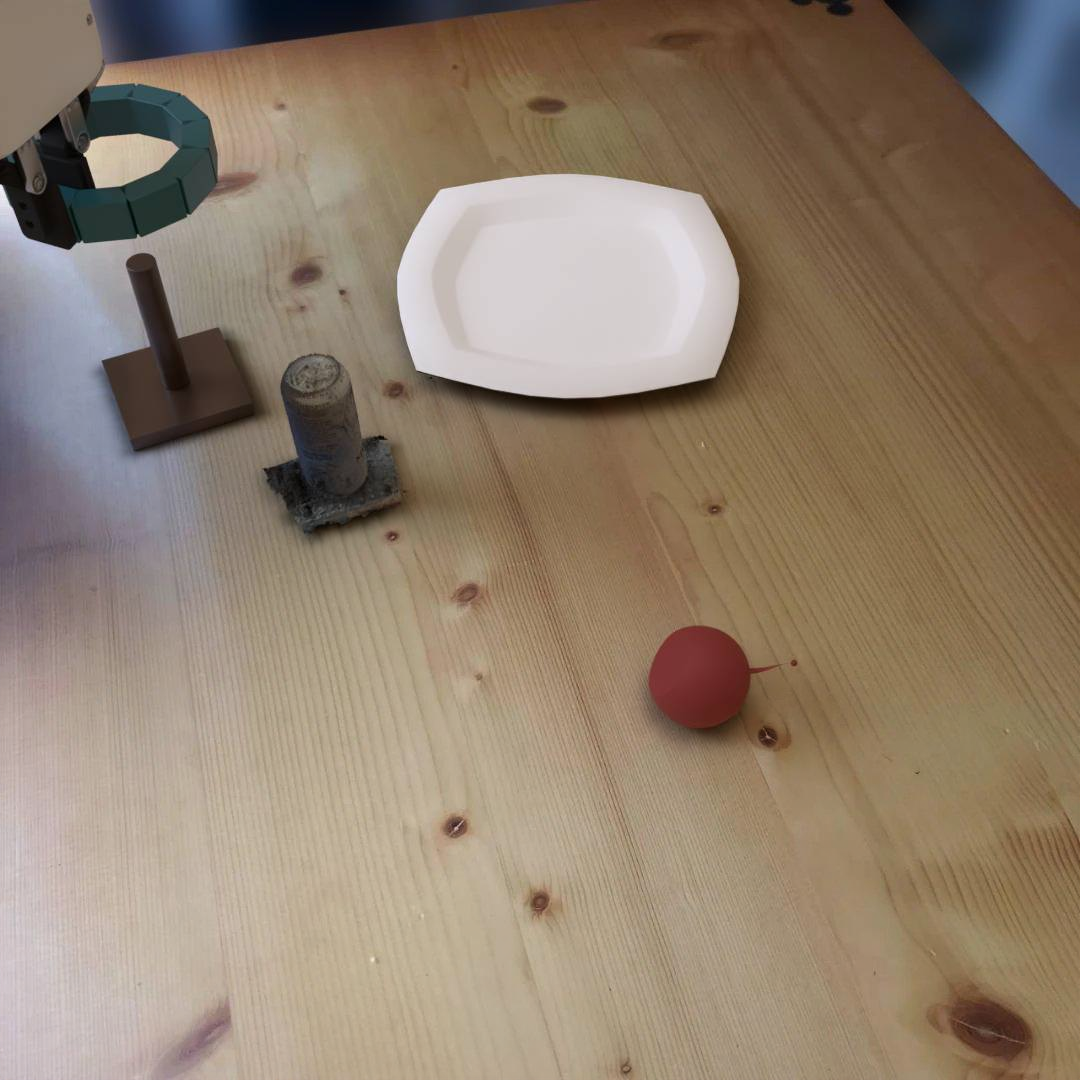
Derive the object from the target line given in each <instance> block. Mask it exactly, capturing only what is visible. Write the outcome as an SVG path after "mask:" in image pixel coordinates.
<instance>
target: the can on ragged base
mask: <svg viewBox="0 0 1080 1080" xmlns="http://www.w3.org/2000/svg"><path fill="white" fill-rule="evenodd" d="M279 389H280V395H281V398H282V402H283V407H284V411H285V414H286V417H287V421H288V425H289V429H290V433H291V435H292V439H293V444H294V447H295V451H296V452H295V453H296V455H297V457H295V459H290V460H288V461H285V462H283V463H278V464H277V465H272V466H269V467H263V468H262V470H263V473H264V474H265V475H266V480H265V482H266V485H268V486H269V490H270V491H272V490H273V491H274V492H275V493H274V494H275V495H276V494H278V493H279V494H280V495H281V496H282V500H283V503H284V504H285V505H286V510H287V511H291V512H290V513H291V517H292V518H294V519H293V520H294V521H295V523H297V524H298V525H299V526H300V527H301V528H302V531H303V534H306V533H308V534H310V535H311V534H312V533H313V531H314V530H315V528H316V527H317V526H320V525H324V526H325V525H326V524H327V522H329V525H330V526H331V525H333V524H334V523H339V524H340V525H341V526H342V525H343V524H349V523H350V522H351V521H352V520H353V518H356V517H359V516H362V517H363V519H364V518H365V517H367V515H369V513H372V512H377V511H379V510H380V509H382V508H383V509H384V508H395V507H396V506H397V507H398V506H400V505H402V504H403V502H402V500H403V492H402V491H400V489H399V486H400V484H399V483H398V482H399V481H398V480H400V479H401V477H400V474H399V470H398V468H397V464H395V463H396V462H395V460H394V455H393V456H392V451H391V446H390V445H389V443H386V444H383V441H388V438H387V437H385V435H381V434H379V435H372V436H371V435H370V436H368V437H365V438H363V437H362V431H361V425H360V420H359V414H358V410H357V405H356V400H355V396H354V395H355V394H354V390H353V389H354V388H353V385H352V380H351V376H350V373H349V371H348V369H347V368H346V366H344V365H343V364H342V363H341V362H340V361H339V360H338V359H336V358H335V357H334V356H333V355H331V354H328V353H327V354H324V353H319V352H318V353H316V352H314V353H309V354H306V355H301V356H299V357H297V358H296V359H294V360H292V361H291V362H290V363H288V366H287V367H286V368H285V371H284V372H283V374H282V376H281V380H280V386H279ZM387 455H390V456H387Z"/></svg>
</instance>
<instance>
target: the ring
mask: <svg viewBox="0 0 1080 1080" xmlns="http://www.w3.org/2000/svg"><path fill="white" fill-rule="evenodd" d="M86 125H87V128H88V131H89V135H90V142H91V141H94V140H96V139H97V140H98V139H99V138H105V137H106V138H107V137H116V136H126V135H142V136H146V137H150V138H154V139H159V140H163V141H167V142H170V143H172V144H173V145H174V146H175V147H176V148H177V150H176V152H175V153H174V154H173V155H172V156H171V157H170V158H169V159H168V160H167V161H165V163H164V164H163V165H162V166H161V167H160V168H159V169H158V170H156V171H153V172H151V173H149V174H146V175H143V176H141V177H139V178H137V179H134V180H133V181H129V182H127V183H125V184H123V185H118V186H109V187H107V186H106V187H98V188H97V187H96V188H95V189H85V190H77V189H73V188H69V187H65V186H61V185H58V184H57V185H58V186H59V188H60V190H61V193H62V196H63V199H64V202H65V205H66V209H67V212H68V215H69V218H70V221H71V224H72V227H73V230H74V233H75V236H76V240H77V243H76V244H81V243H83V244H94V243H95V244H96V243H104V242H105V243H107V242H114V241H125V240H135V239H136V240H137V238H138V236H139V237H140V238H144V237H146V236H148V235H151V234H153V233H155V232H157V231H159V230H163V229H165V228H166V227H168V226H171V225H173V224H175V223H178V222H180V221H183V220H185V219H187V218H188V216H192V214H193V213H194V212H195V211H196V210H197V209H198V207H199V206H200V205H201V204H202V203H203V202H204V201H205V200H206V199H207V197H208V196H209V195H210V194H211V193H212V192H213V191H214V189H215V188H217V184H218V183H219V162H218V161H219V159H218V158H219V153H218V149H217V145H216V140H215V136H214V132H213V126H212V122H211V119H210V118H209V116H208V115H207V113H205V112H204V111H203V110H202V109H201V108H200V107H198V106H197V105H196V104H195V103H194V102H193V101H191V100H190V99H189V97H187V96H186V95H185V94H181V92H179V91H174V90H169V89H164V88H161V87H157V86H151V85H148V84H143V83H137V84H136V83H134V82H132V83H120V84H109V85H98V86H97V85H96V87H95V89H94V90H93V92H92V94H90V105H89V110H88V115H87V119H86ZM32 138H33V141H34V144H39V145H40V142H37V141H36V140H35V138H34V136H32ZM7 158H8V161H10V162H13V163H15V162H14V159H13V157H12V153H11V154H10V155H8V156H7ZM1 186H2V189H3V191H4V194H5V196H6V199H7V202H8V204H9V206H10V207H11V208H12V205H11V202H10V200H9V197H8V195H7V192H6V189H5V187H4V186H3V185H1Z"/></svg>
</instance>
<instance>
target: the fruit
mask: <svg viewBox="0 0 1080 1080" xmlns="http://www.w3.org/2000/svg"><path fill="white" fill-rule="evenodd" d="M786 664H790V666H791V667H796V666H798V660H796V659H791V660H790V662H788V663H785V665H786ZM783 665H784V663H780V664H775V665H774V664H773V665H771V666H764V667H750V663H749V660H748V658H747V655H746V653H745V651H744V650H743V648H742V647H741V645H740V644H739V643H738V642H737V640H735V639H734V637H732V636H731V635H729V634H728V633H727V632H725V631H723V630H721V629H719V628H716V627H712V626H708V625H699V624H698V625H689V626H685V627H681V628H679V629H676V630H674V631H673V632H672V633H670V634H669V635H668V636H667V637H666V638H665V639H664V641H663V642H662V643H661V645H660V646H659V648H658V649H657V652H656V654H655V656H654V658H653V660H652V662H651V666H650V670H649V674H648V689H649V692H650V695H651V698H652V700H653V701H654V704H655V705H656V706H657V707H658V709H659V710H660V711H661V713H662V714H664V715H665V716H666V717H667V718H668V719H670V720H671V721H672V722H674V723H676V724H679V725H681V726H684V727H687V728H693V729H708V728H713V727H717V726H719V725H721V724H723V723H725V722H727V721H728V720H730V719H731V718H732V717H733V716H735V715H736V714H737V713H738V712H739V711H740V709H741V708H742V706H743V705H744V703H745V702H746V700H747V697H748V694H749V692H750V689H751V688H750V687H751V677H752V675H755V674H760V673H764V672H767V671H770V670H773V669H775V668H777V667H781V666H783Z"/></svg>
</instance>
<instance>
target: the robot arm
mask: <svg viewBox="0 0 1080 1080" xmlns="http://www.w3.org/2000/svg"><path fill="white" fill-rule="evenodd" d="M99 33H100V32H99V30H98V26H97V21H96V18H95V14H94V11H93V8H92V5H91V1H90V0H0V186H2V185H3V186H4V187H5V189H6V192H7V195H8V197H9V200H10V202H11V205H12V207H11V208H12V211H13V212H14V215H15V219H16V220H17V223H18V226H19V228H20V231H21V233H22V235H23V236H24V237H25V238H26V239H28V240H32V241H34V242H38V243H42V244H46V245H47V246H52V247H55V248H58V249H59V248H60V249H63V250H67V251H71V250H72V248H74V247H75V246H76V244H78V243H77V240H76V236H75V233H74V230H73V227H72V224H71V221H70V218H69V215H68V212H67V209H66V205H65V202H64V199H63V196H62V193H61V190H60V188H59V186H58V185H61V186H65V187H69V188H73V189H77V190H85V189H95V188H97V186H96V183H95V181H94V177H93V174H92V172H91V168H90V164H89V162H88V159H87V156H85V153H87V152H88V150H89V149H90V146H91V141H90V135H89V131H88V128H87V125H86V119H87V115H88V110H89V105H90V94H92V92H93V90H94V89H95V87H96V86H97V84H98V83H99V80H100V79H101V77H102V76H103V74H104V71H105V69H106V67H105V66H106V63H105V60H104V57H103V47H102V42H101V38H100V34H99ZM32 136H34V138H35V140H36V141H37V142H40V145H39V144H34V141H33V138H32ZM11 153H12V157H13V159H14V162H15V163H13V162H10V161H8V158H7V156H8V155H10V154H11ZM57 184H58V185H57ZM3 186H2V187H3Z"/></svg>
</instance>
